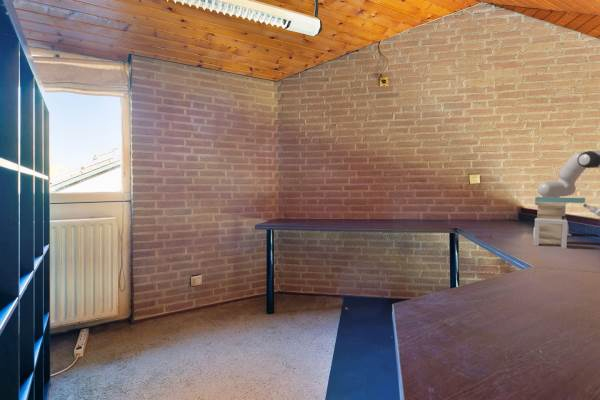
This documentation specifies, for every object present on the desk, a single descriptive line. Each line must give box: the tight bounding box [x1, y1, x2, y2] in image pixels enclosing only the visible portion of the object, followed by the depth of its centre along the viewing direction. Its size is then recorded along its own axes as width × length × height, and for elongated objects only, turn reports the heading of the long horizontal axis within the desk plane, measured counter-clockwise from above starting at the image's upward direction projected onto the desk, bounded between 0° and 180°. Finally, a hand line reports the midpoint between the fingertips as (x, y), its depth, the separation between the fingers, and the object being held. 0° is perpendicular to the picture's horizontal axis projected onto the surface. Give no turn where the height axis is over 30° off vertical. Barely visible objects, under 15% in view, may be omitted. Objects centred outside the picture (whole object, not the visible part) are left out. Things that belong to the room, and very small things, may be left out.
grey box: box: [533, 217, 569, 249], centre depth 189 cm, size 8×15×16 cm, turn 54°
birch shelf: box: [534, 201, 567, 245], centre depth 199 cm, size 8×15×26 cm, turn 54°
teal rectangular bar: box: [534, 196, 586, 204], centre depth 196 cm, size 3×24×3 cm, turn 54°
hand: (585, 205), depth 189 cm, fingers open, 8 cm apart
